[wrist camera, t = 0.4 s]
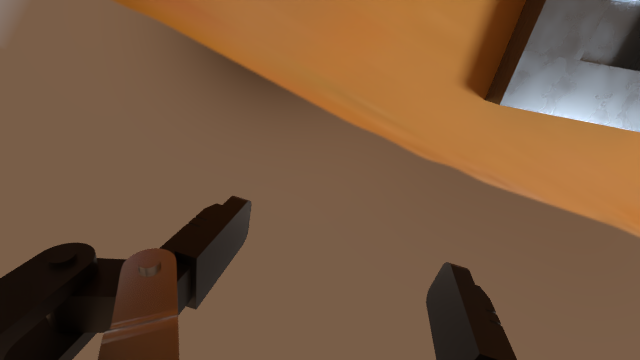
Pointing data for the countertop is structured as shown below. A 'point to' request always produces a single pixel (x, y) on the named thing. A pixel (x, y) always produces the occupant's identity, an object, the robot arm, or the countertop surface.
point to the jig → (574, 62)
